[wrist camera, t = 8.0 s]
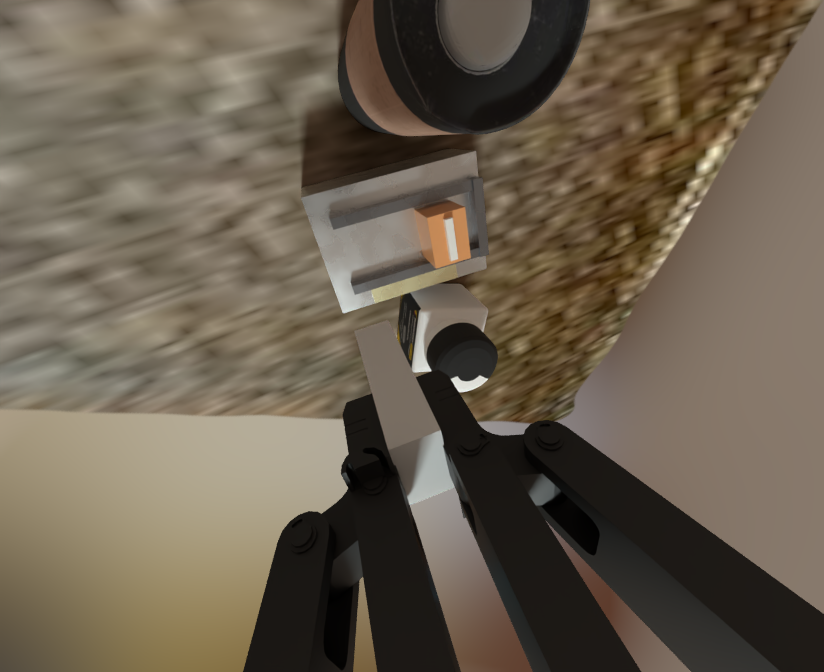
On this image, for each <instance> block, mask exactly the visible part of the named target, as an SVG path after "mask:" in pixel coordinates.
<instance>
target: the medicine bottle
mask: <svg viewBox="0 0 824 672" xmlns="http://www.w3.org/2000/svg"><path fill="white" fill-rule="evenodd" d="M487 314H488V309H487V308H486V307H485V306H484V305H483V304H482V303H481V302H480V301H479V300H478V299H477V298H476V297H475V296H474V295H472V294H471V293H470V292H469V291H468V290H467V289H466V288H465V287H464V286H463V285H462V284H435V285H432V286H429V287H426V288H423V289H419V290H416V291H413V292H410V293H407V294H403V295H401V305H400V315H399V325H398V335H397V339H398V342H399V344H400V346H401V348H402V350H403V352H404V354H405V356H406V359H407V361H408V363H409V365H410V367H411V369H412V371H413V372H427V371H435V370H440V371H442V372H443V373H445V374H447V375H448V376H449V377H450V379H451V381H452V382H453V384H454V386H455V387H456V389H457V390H458V392H466V391H470V390H473V389H475V388H477V387H479V386H480V385H482V384H483V383H484V382H486V381H487V380H488V379H489V377H490V376H491V375H492V373H493V371H494V369H495V367H496V364H497V359H498V354H497V349H496V347H495V345H494V344H493V343H492V342H491V340H490V339H489V338H488V337H487V336H486V335H485V334H484V333H483V331H484V327H485V323H486V318H487Z"/></svg>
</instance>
